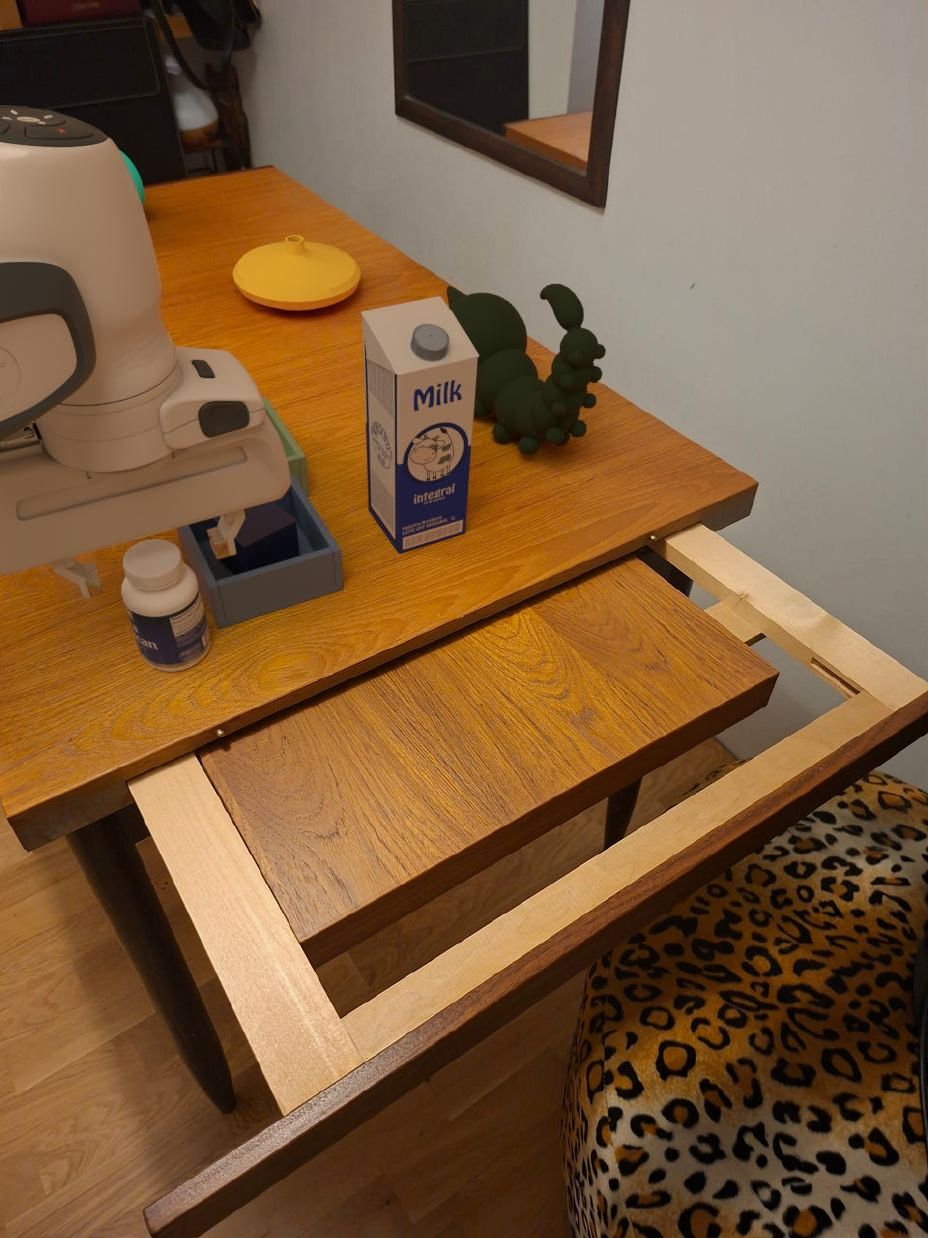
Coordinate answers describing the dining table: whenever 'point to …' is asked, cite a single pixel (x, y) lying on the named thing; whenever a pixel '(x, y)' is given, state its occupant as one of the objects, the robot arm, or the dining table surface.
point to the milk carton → (418, 420)
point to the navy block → (262, 539)
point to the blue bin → (267, 567)
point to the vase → (296, 274)
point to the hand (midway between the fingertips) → (160, 571)
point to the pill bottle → (164, 606)
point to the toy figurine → (529, 368)
